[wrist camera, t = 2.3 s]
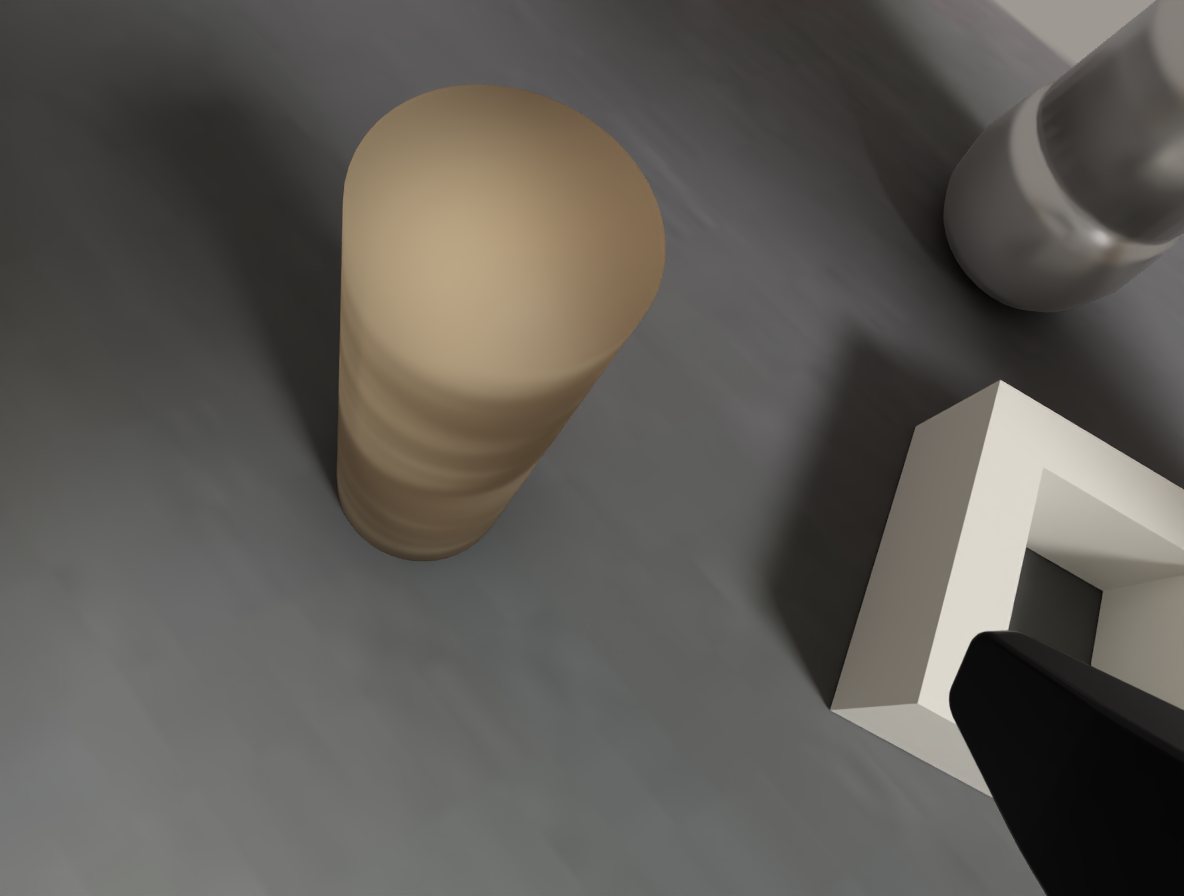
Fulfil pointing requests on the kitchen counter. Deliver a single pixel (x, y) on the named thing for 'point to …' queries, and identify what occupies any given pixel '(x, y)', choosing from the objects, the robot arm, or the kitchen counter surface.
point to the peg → (478, 304)
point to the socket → (1009, 565)
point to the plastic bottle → (1079, 175)
